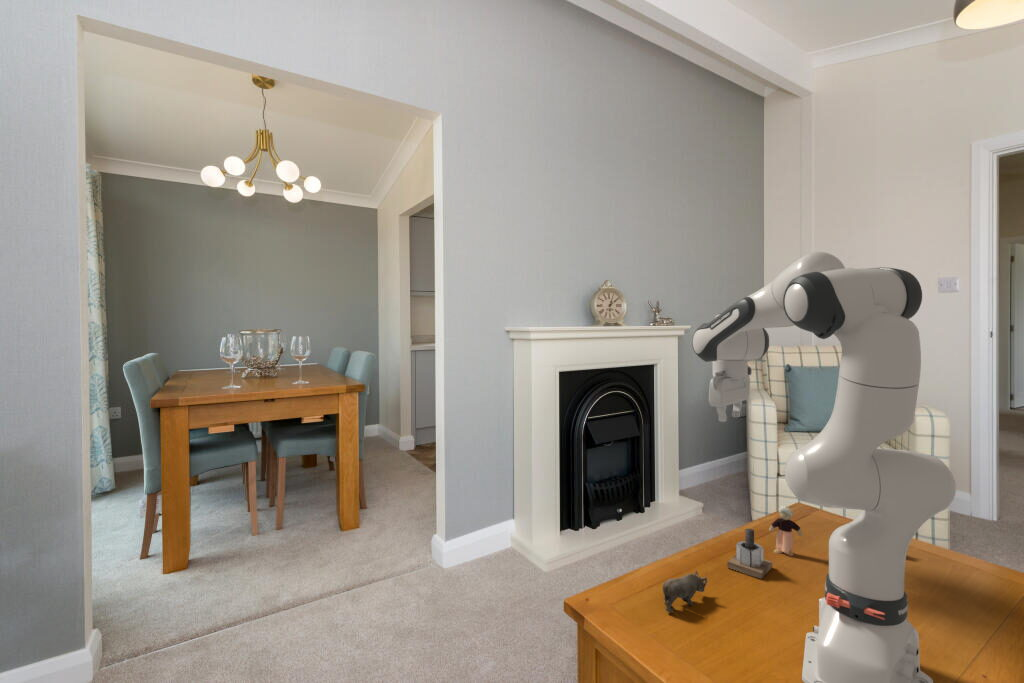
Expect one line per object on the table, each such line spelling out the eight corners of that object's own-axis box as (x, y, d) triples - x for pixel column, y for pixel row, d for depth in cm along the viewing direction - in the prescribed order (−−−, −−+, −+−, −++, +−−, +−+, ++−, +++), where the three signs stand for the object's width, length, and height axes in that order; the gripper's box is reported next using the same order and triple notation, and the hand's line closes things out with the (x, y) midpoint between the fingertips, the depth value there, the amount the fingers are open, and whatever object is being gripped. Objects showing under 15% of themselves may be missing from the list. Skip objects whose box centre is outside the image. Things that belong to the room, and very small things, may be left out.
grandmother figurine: (771, 554, 129) (771, 507, 128) (768, 548, 132) (768, 502, 132) (804, 558, 126) (804, 510, 126) (799, 551, 130) (799, 505, 130)
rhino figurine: (715, 597, 108) (715, 571, 108) (671, 615, 102) (671, 587, 102) (700, 589, 112) (700, 563, 112) (657, 605, 105) (656, 578, 105)
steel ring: (758, 569, 117) (758, 553, 117) (733, 562, 122) (733, 546, 121) (766, 561, 122) (765, 545, 122) (741, 554, 126) (741, 539, 126)
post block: (761, 579, 116) (761, 539, 116) (727, 567, 122) (727, 530, 121) (772, 567, 122) (772, 530, 121) (739, 557, 127) (739, 521, 127)
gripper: (726, 373, 125) (726, 425, 126) (754, 368, 140) (754, 415, 140) (702, 371, 130) (702, 422, 130) (731, 367, 144) (731, 413, 145)
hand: (729, 419), depth 135 cm, fingers open, 8 cm apart
